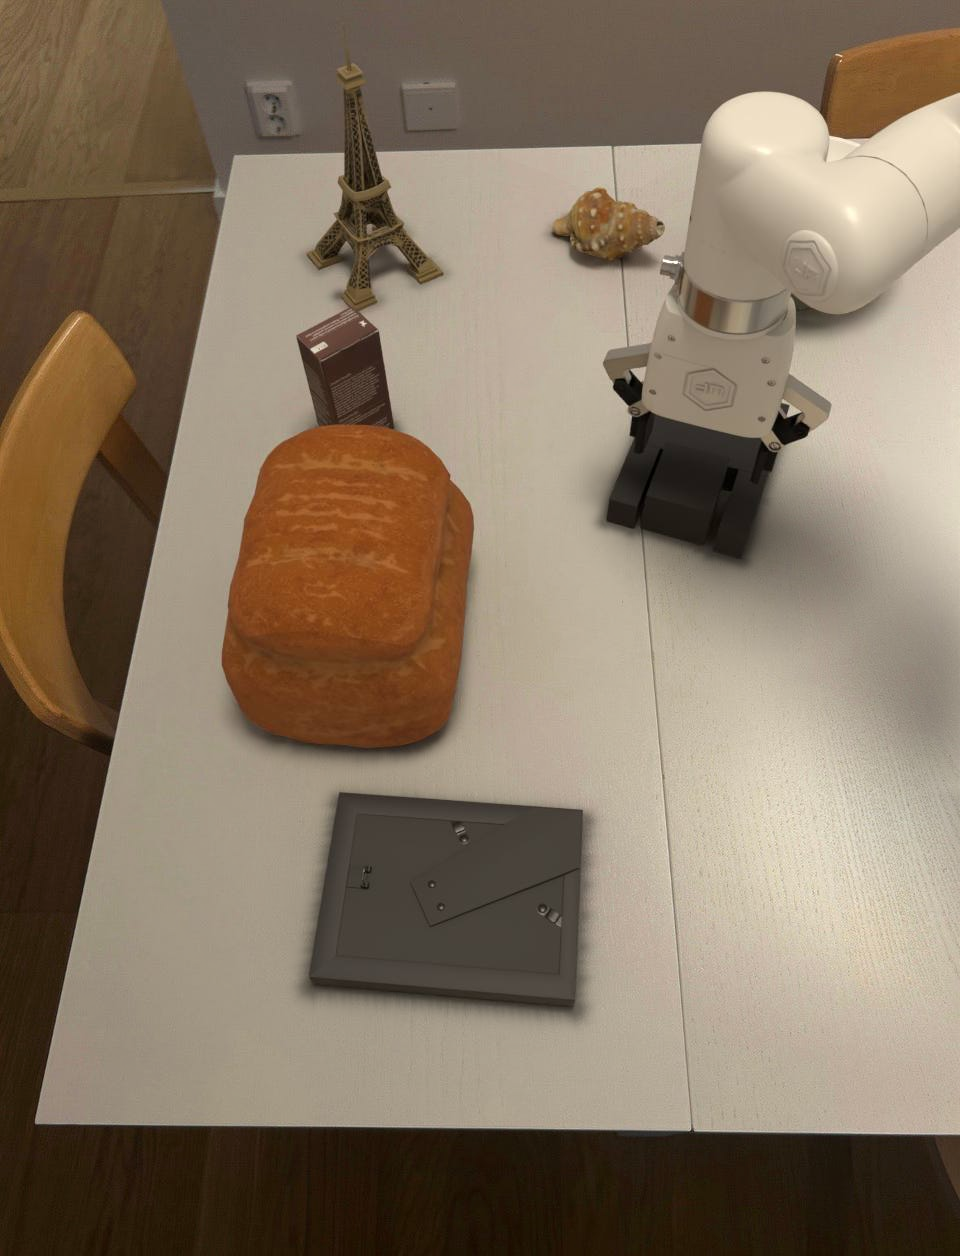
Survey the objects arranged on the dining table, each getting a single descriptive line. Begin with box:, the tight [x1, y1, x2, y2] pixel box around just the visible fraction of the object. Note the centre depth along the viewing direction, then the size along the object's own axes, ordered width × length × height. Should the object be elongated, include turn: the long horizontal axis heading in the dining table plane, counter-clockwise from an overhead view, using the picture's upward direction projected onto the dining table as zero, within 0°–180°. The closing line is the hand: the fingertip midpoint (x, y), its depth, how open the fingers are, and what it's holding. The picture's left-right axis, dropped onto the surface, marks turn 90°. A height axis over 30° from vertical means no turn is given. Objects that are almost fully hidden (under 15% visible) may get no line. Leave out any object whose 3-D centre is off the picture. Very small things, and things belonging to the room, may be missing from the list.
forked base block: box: [606, 402, 791, 560], centre depth 94 cm, size 12×16×3 cm
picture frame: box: [308, 791, 584, 1008], centre depth 74 cm, size 13×2×18 cm
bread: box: [221, 424, 475, 748], centre depth 80 cm, size 18×21×17 cm
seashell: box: [552, 186, 666, 261], centre depth 110 cm, size 9×8×10 cm
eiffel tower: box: [306, 22, 444, 312], centre depth 101 cm, size 11×11×25 cm
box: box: [295, 306, 396, 430], centre depth 94 cm, size 6×4×12 cm
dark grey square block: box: [640, 442, 730, 546], centre depth 91 cm, size 6×6×4 cm
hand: (699, 456), depth 87 cm, fingers open, 9 cm apart
